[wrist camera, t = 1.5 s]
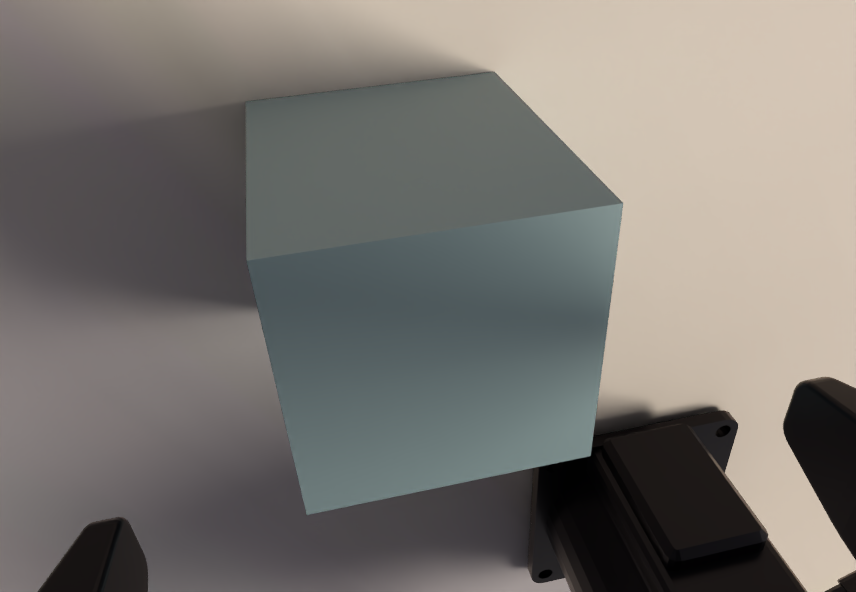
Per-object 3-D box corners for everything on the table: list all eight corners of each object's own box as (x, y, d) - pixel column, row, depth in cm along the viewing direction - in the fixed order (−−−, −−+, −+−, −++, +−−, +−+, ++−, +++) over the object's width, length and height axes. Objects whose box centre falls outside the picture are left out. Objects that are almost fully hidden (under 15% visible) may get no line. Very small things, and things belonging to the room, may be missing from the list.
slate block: (492, 274, 17) (590, 455, 12) (288, 308, 16) (306, 515, 11) (494, 71, 14) (622, 203, 9) (245, 100, 13) (246, 260, 9)
